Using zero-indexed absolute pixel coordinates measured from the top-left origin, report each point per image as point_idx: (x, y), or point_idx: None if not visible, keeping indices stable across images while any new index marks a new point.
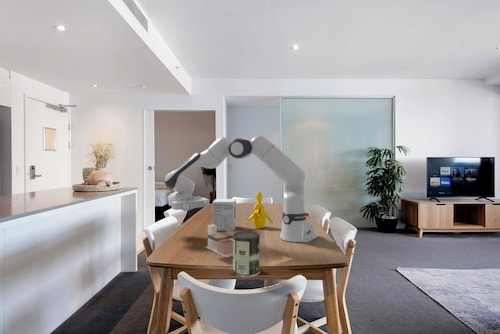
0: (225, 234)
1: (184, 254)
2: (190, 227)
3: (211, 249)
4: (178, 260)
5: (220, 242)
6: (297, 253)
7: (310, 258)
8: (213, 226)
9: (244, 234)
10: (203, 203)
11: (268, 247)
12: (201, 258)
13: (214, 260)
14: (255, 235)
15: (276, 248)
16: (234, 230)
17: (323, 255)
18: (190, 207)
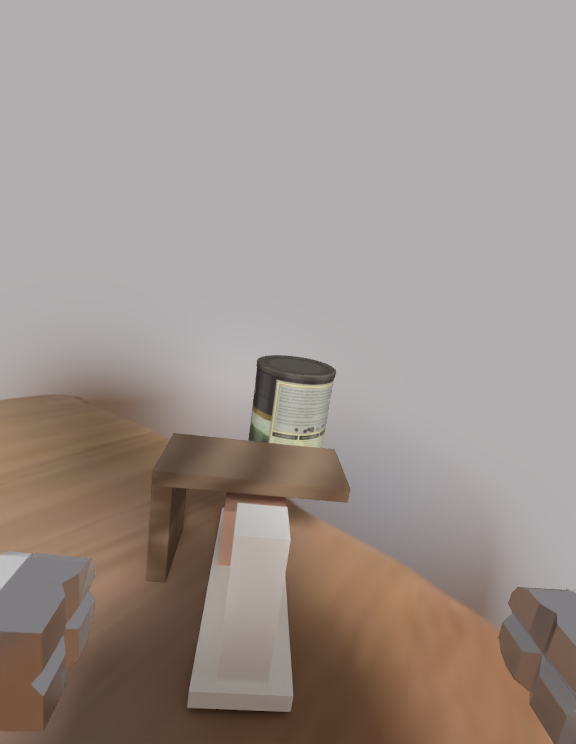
0: (267, 456)
1: (453, 728)
2: None
3: (282, 614)
4: (489, 653)
5: (284, 499)
6: (43, 444)
7: (76, 422)
8: (266, 508)
9: (295, 368)
10: (53, 622)
11: (5, 514)
12: (363, 601)
13: (318, 552)
14: (277, 359)
15: (7, 491)
16: (175, 465)
17: (28, 413)
18: (509, 630)
